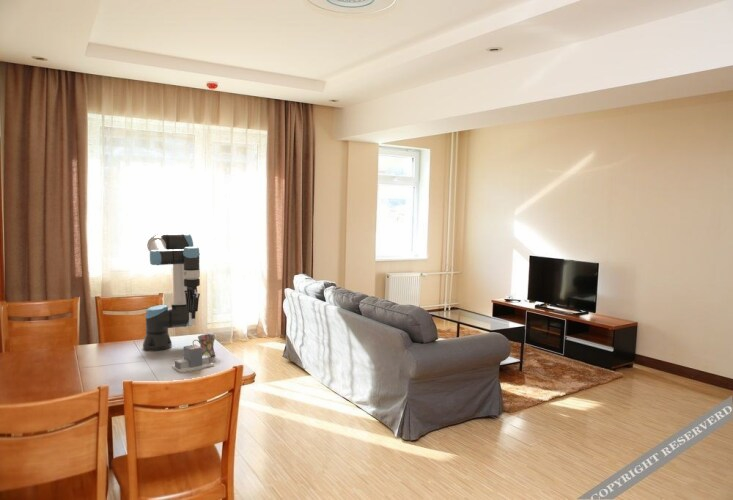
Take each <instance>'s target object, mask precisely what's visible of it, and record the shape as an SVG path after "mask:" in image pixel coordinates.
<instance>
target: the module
mask: <svg viewBox="0 0 733 500" xmlns="http://www.w3.org/2000/svg"><path fill="white" fill-rule="evenodd" d="M183 359H186V360H188V361H190V368H192V367H197V366H202V348H201V347H200V346H199V345H196V344H194V345H193V344H191V345H185V346H183Z"/></svg>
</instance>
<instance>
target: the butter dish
mask: <svg viewBox="0 0 733 500" xmlns="http://www.w3.org/2000/svg"><path fill="white" fill-rule="evenodd" d="M214 366H215V364H214V363H213V362H212V356H209V355H207V354H205V355H203V356H202V366H197V367H192V368H190V361H188V360H186V359H184V358H183V359H178V360H177V359H175V360H174V364H172V365H171V368H172V369H174V370H175V371H177V372H179V373H180V374H182V373H187V372H191V371H196V370H201V369H205V368H210V367H214Z"/></svg>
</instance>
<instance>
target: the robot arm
mask: <svg viewBox="0 0 733 500" xmlns="http://www.w3.org/2000/svg"><path fill="white" fill-rule="evenodd" d="M146 246H147V250H148V251H149V263H150V266H151V265H152V266H163V265H164V266H165V265H167V266H168V265H172V273H173V274H172V275H173V276H172V278H173V279H172V280H173V302H172V303H171V305H170V306H171V307H169V306H168V305H166V304H160V305H154V306H151V307H148V308H147V309H145V310H146V311H145V337H144V340H143V343H142V349H143V350H145V351H153V352H154V351H156V352H157V351H163V350H167V349H170V348H172V346H173V345H172V344H173V343H172V339H171V337H170V335H169V329H172V328H173V329H174V328H175V329H176V328H186V327H192V326H195V325H196V324H197V323H196V320H197V318H196V314H197V312H198V311H199V301H200V300H199V299H200V297H201V296H200V295H201V294H200V293H198V287H199V286H201V285H200V284H201V281H200V280H201V279H200V277H201V276H200V275H201V272H200V271H201V269H200V255H201V253H200V248H199V247H197V246H195V245H194V241H193V237H192V235H191V234H190V233H187V232H174V233H173V232H171V233H166V232H162V233H158V234H156V235H153V236H152V237H150V238H149V240H148V242H147V243H146Z"/></svg>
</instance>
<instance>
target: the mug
mask: <svg viewBox="0 0 733 500" xmlns="http://www.w3.org/2000/svg"><path fill="white" fill-rule="evenodd" d="M216 338H217V335H216V334H209V333H206V334H199V335H198V336H197V339H194V340H192V345H195V344H194V342H195V341H197V342H198V344H199V345H200V346H199V347H201V348H202V356H203V355H205V354H207V355H209V356H211V357H213V356H215V355H216V351H215V349H214V348H215V347H214V343H215V341H216V340H215V339H216Z"/></svg>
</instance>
